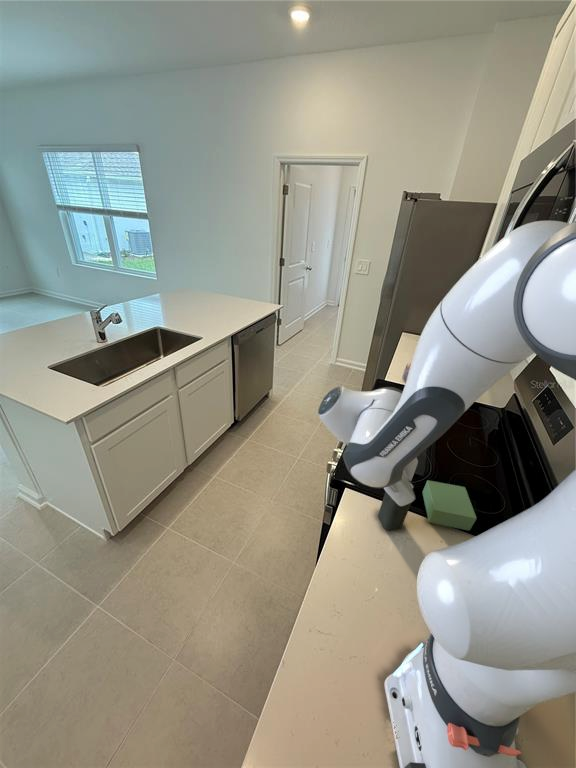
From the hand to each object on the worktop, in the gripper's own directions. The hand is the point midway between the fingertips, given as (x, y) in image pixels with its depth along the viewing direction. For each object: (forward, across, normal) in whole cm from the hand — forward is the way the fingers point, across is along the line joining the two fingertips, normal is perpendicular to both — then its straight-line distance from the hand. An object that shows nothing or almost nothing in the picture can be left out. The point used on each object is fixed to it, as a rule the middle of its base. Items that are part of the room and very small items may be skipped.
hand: (407, 479), depth 72 cm
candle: (+11, 0, +12) cm, 16 cm away
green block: (+22, +4, 0) cm, 22 cm away
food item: (+32, +78, -10) cm, 86 cm away
